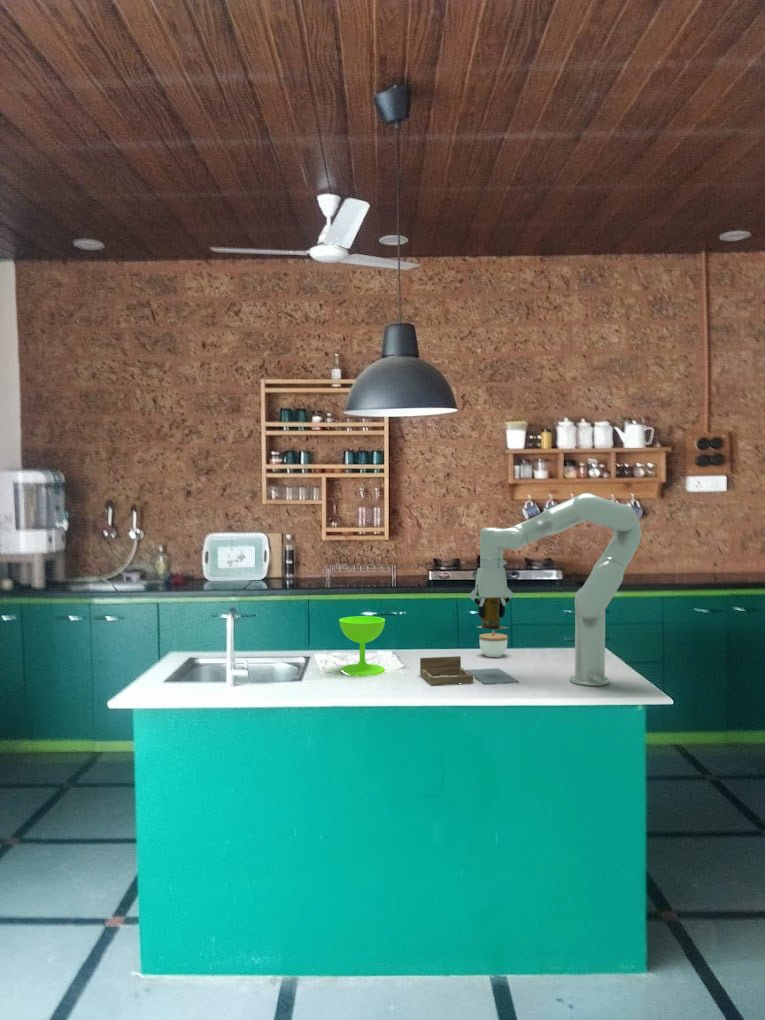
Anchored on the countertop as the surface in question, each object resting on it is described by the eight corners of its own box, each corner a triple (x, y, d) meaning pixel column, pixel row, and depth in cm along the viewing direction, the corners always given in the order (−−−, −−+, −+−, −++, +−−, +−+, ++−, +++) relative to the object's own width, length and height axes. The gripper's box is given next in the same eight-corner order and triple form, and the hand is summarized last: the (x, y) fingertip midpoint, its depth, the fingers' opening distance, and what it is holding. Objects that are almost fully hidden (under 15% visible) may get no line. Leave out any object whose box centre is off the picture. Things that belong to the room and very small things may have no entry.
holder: (473, 683, 276) (473, 665, 276) (431, 685, 273) (431, 667, 273) (459, 673, 291) (459, 656, 291) (420, 675, 288) (420, 657, 288)
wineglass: (377, 677, 285) (377, 624, 285) (332, 674, 290) (332, 622, 289) (390, 667, 300) (390, 617, 300) (348, 665, 305) (348, 615, 305)
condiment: (490, 625, 291) (490, 590, 290) (509, 628, 284) (509, 592, 284) (475, 627, 286) (475, 592, 286) (494, 630, 280) (493, 594, 279)
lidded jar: (500, 652, 327) (500, 628, 327) (512, 658, 317) (512, 633, 316) (474, 654, 324) (474, 629, 324) (485, 659, 314) (485, 634, 314)
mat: (518, 682, 277) (518, 681, 277) (483, 684, 275) (483, 682, 275) (498, 669, 297) (498, 668, 297) (465, 671, 294) (465, 669, 294)
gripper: (512, 562, 290) (512, 615, 290) (463, 563, 287) (463, 616, 287) (519, 564, 283) (519, 618, 283) (470, 565, 279) (470, 620, 280)
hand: (491, 617), depth 285 cm, fingers closed on condiment, 6 cm apart
